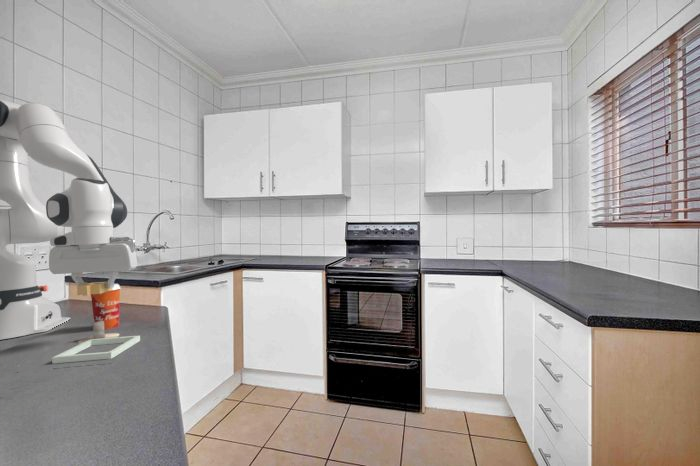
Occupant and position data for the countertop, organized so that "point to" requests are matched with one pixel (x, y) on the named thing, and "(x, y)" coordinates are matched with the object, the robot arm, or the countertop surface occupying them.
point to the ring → (92, 288)
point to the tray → (70, 357)
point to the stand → (99, 332)
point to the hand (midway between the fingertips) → (96, 288)
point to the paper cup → (107, 307)
